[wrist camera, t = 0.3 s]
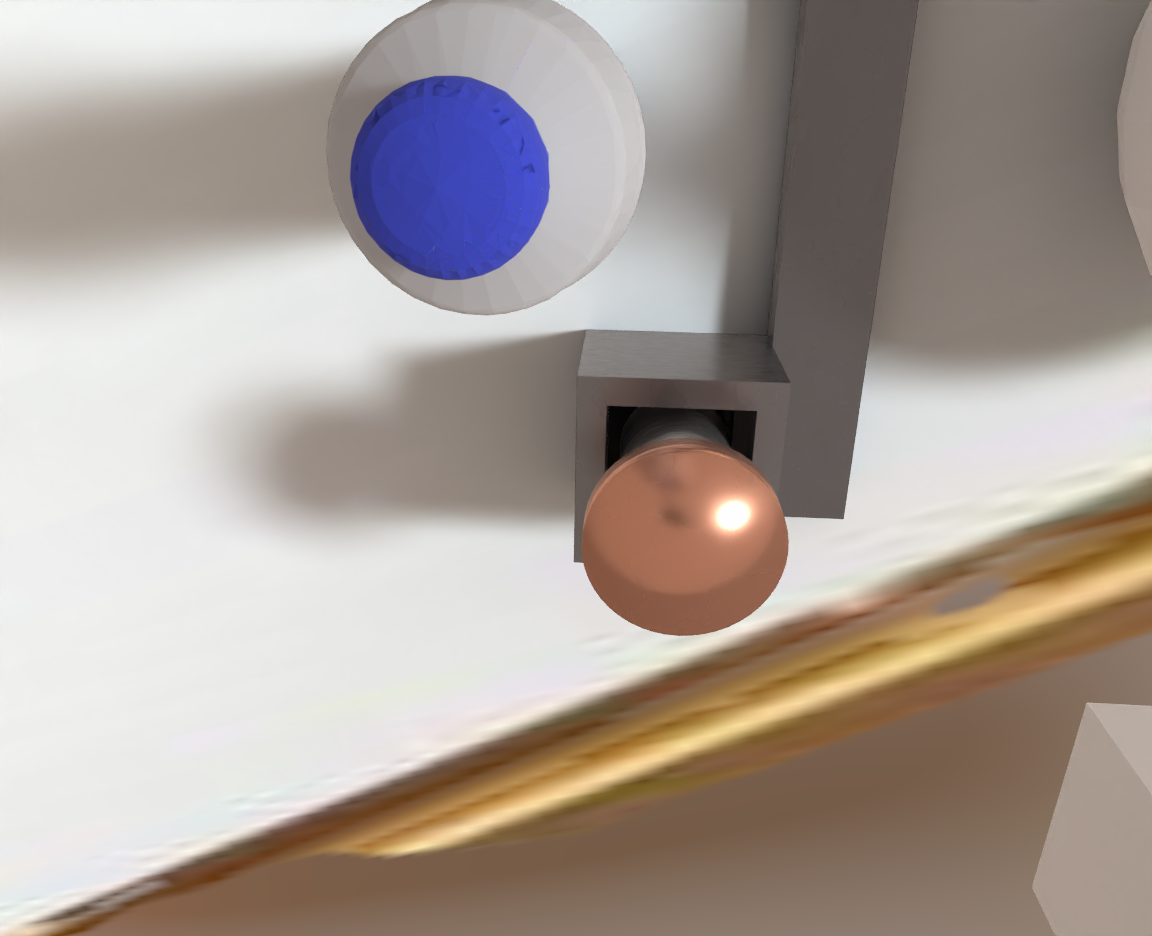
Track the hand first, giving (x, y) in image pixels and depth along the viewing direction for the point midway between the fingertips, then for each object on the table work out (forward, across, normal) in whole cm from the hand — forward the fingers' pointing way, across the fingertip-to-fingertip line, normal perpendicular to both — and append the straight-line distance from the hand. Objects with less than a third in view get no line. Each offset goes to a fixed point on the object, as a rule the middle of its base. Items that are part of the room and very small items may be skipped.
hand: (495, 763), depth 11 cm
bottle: (+27, -2, +6) cm, 28 cm away
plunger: (+24, +3, -5) cm, 25 cm away
